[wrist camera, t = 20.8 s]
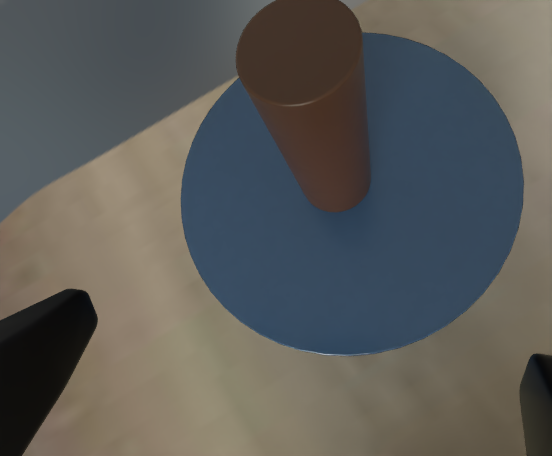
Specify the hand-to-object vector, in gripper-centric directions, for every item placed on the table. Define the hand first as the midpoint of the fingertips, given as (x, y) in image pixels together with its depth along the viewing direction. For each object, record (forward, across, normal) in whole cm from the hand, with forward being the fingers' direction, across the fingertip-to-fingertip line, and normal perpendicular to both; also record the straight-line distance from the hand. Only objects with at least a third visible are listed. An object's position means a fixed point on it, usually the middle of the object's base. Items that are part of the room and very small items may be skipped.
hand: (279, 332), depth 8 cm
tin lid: (+10, 0, +2) cm, 10 cm away
